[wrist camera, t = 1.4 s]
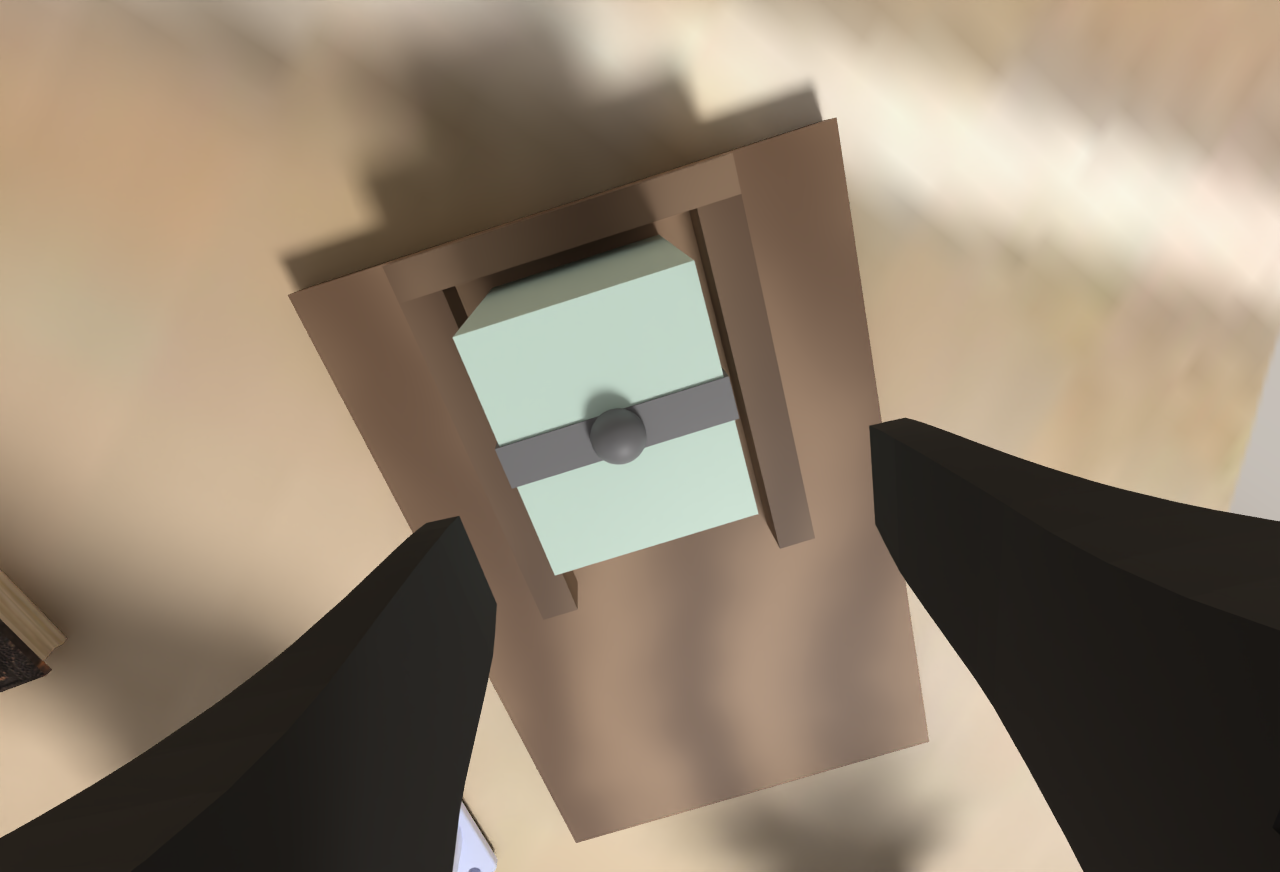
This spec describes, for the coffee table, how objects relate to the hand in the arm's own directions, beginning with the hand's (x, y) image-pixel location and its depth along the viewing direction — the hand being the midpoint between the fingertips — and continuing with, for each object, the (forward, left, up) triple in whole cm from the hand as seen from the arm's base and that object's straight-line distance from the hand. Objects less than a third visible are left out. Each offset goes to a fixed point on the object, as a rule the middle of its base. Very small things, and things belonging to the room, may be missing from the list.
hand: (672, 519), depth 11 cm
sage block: (-1, +1, -9) cm, 9 cm away
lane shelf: (-1, -7, -10) cm, 12 cm away
